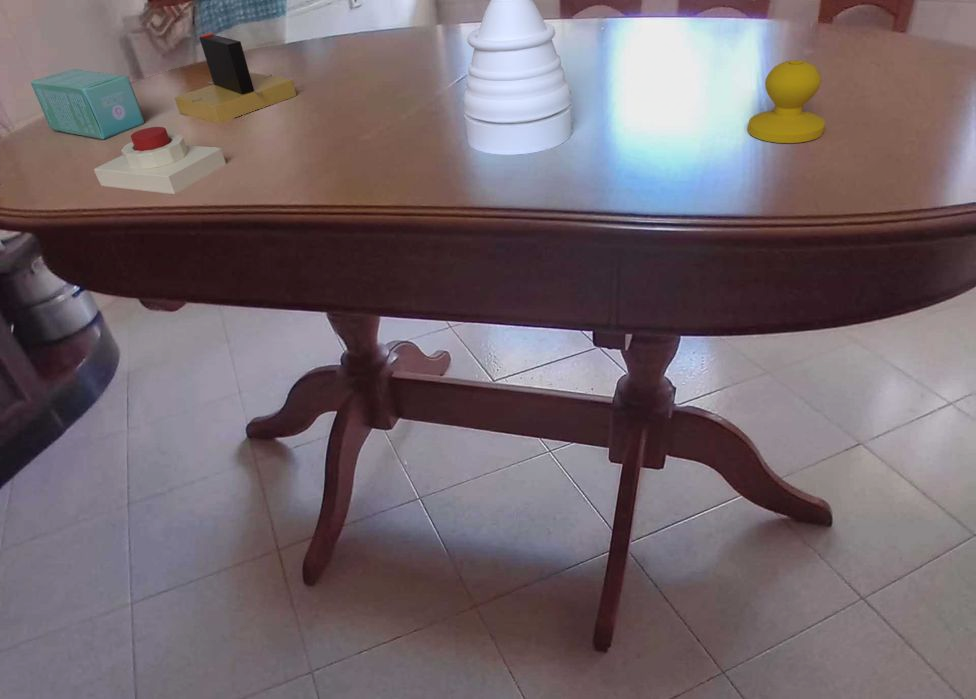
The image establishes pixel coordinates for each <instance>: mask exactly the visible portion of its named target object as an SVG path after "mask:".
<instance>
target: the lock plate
mask: <svg viewBox="0 0 976 699" xmlns="http://www.w3.org/2000/svg"><path fill="white" fill-rule="evenodd" d="M249 74H250V77H251V81H252V84H253V88H254V91H253V92H250V93H246V94H243V95H242V94H239V93H237V92H234V91H231V90H228V89H225V88H222V87H219V86H217V85H214V83H213V81H212V82H211V81H207V82H206V84H207V85H208V86H204V87H202V88H199V89H196V90H193V91H192V90H191V91H190V92H186V93H183V94H180V95H177V96H174V97H173V98H174V101H175V104H176V107H177V109H178V112H179V115H183V116H188V117H192V118H196V119H199V120H204V121H209V122H213V123H216V124H222V123H225V122H227V121H230V119H231V120H233V119H236V118H235V117H237V118H239V117H238V116H240V117H242V116H245V115H247V114H246V113H248V114H250V113H249V112H251V113H253V112H256V111H258V110H257V109H259V110H261V108H262V109H264V108H267V107H269V105H270V106H273V105H275V104H277V103H280V102H283V101H285V100H289V99H291V98H294V97H296V96H297V92H296V89H295V85H294V81H293V79H291V78H285V77H280V76H273V74H262V73H255V72H249ZM272 104H273V105H272ZM266 106H267V107H266ZM255 110H256V111H255ZM252 111H253V112H252ZM244 114H245V115H244ZM241 115H242V116H241ZM232 118H233V119H232Z"/></svg>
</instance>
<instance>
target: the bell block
mask: <svg viewBox="0 0 976 699" xmlns="http://www.w3.org/2000/svg"><path fill="white" fill-rule="evenodd" d="M167 134H168V136H169V139H170V142H171V143H169V144H167V145H165V146H163V147H160V148H157V149H153V150H147V151H136V149H135V147H134V144H133V142H132V141H131V142H128V143H126V144H125V145H124V147H122V149H121V150H120V151H121V154H122V155H120V156H118V157H116V158H113V159H111V160H109V161H107V162H105V163H103V164H101V165H98V166H97V167H95V168H93V171H94V174H95V175H96V178H97V181H98V182H99V185H100V186H101V187H108V188H109V187H110V188H118V189H124V190H125V189H126V190H134V191H135V190H136V191H144V192H151V193H161V194H168V195H169V194H170V195H171V194H172V195H176V194H178V193H179V192H181V191H182V190H185V189H186V188H189V187H190V186H192V185H193V184H195V183H197V182H198V181H200V180H202V179H204V178H205V177H207V176H209V175H211V174H212V173H214V172H216V171H218V170H220V169H222V168H223V167H225V166H226V165H227V162H226V159H225V156H224V153H223V149H222V148H221V147H214V146H203V145H202V146H201V145H189V144H188V145H187V144H186V142H185V139H184V137H183V136H182V135H181V134H179V133H169V132H167Z"/></svg>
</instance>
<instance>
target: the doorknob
mask: <svg viewBox="0 0 976 699" xmlns="http://www.w3.org/2000/svg"><path fill="white" fill-rule="evenodd" d="M821 84H822V76H821V74H820V71H819V69H818V68H817V67H816V66H815V65H814V64H812V63H810V62H808V61H805V60H801V59H799V60H798V59H795V60H786V61H783V62H780V63H779V64H777V65H775V66H774V67H773V68H771V70H770V72H768V74H767V76H766V78H765V82H764V85H765V90H766V93H767V95H768V97H769V99H770V100H771V101H772V103H773V104H774V109H771V110H767V111H763V112H759V113H756V114H754V115H753V116H751V117H750V118H749V120H748V123H747V132H748V134H749V135H751V136H752V137H753V138H755V139H758V140H761V141H764V142H768V143H774V144H775V143H777V144H800V143H806V142H810V141H814V140H816V139H819V138H821V136H823V134H824V132H825V128H826V121H825V119H824V118H823V117H821V116H819V115H817V114H816V113H812V112H810V111H806V110H804V105H805V104H807V103H808V102H809V101H810V100H811V99H812V98H813V97H814V96H815V95H816V93H817V92H818V91H819V89H820V86H821Z"/></svg>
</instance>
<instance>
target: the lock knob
mask: <svg viewBox="0 0 976 699" xmlns="http://www.w3.org/2000/svg"><path fill="white" fill-rule="evenodd" d="M199 41H200V44H201V48H202V52H203V54H204V58H205V60H206V63H207V66H208V70H209V73H210V77H211V79H212V83H214V84H213V85H217V86H219V87H222V88H225V89H228V90H231V91H234V92H237V93H239V94H242V95H243V94H246V93H250V92H253V91H254V88H253V84H252V81H251V77H250V74H249V73H250V70H249V67H248V63H247V60H246V56H245V53H244V49H243V45H242V42H241V40H236V39H232V38H228V37H223V36H220V35H216V34H214V32H213V33H212V32H208V33H204V34H199Z"/></svg>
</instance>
